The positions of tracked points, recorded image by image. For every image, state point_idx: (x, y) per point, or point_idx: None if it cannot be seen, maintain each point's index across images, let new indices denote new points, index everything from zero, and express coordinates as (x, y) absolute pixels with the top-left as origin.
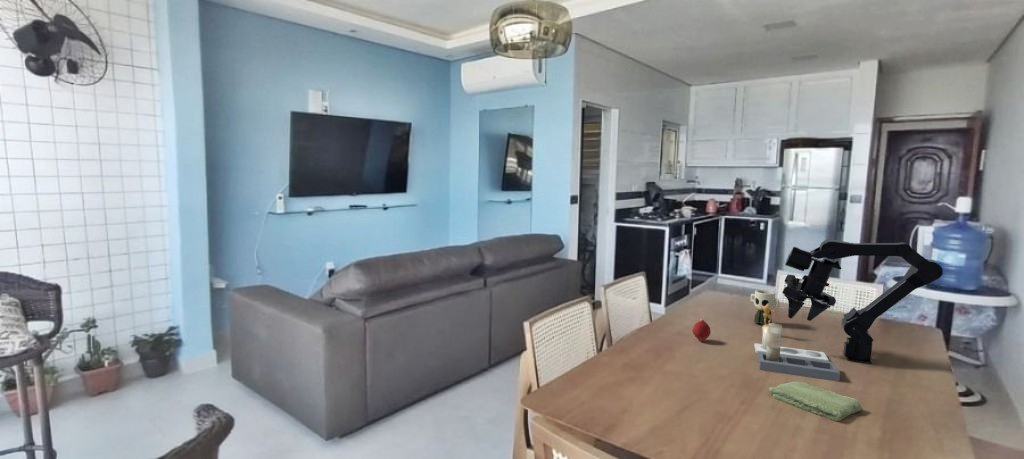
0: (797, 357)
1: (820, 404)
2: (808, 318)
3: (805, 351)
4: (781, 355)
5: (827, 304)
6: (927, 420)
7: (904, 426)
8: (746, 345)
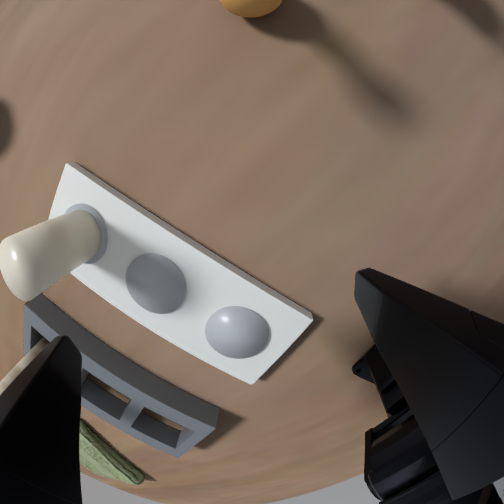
0: (116, 380)
1: (84, 465)
2: (364, 290)
3: (230, 299)
4: None
5: (490, 487)
6: (220, 500)
7: (176, 495)
8: (54, 153)
